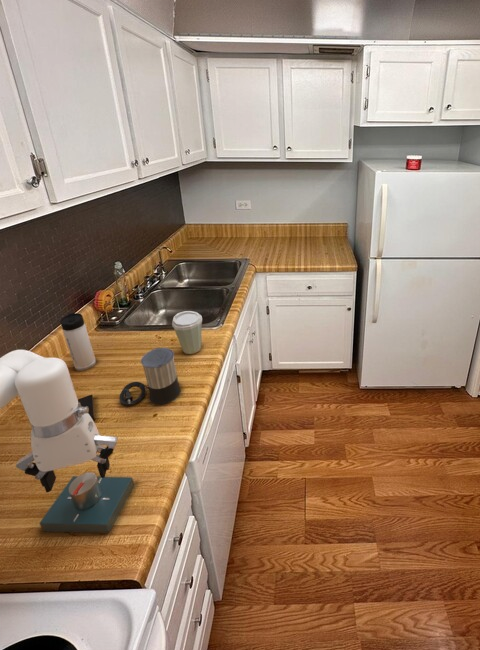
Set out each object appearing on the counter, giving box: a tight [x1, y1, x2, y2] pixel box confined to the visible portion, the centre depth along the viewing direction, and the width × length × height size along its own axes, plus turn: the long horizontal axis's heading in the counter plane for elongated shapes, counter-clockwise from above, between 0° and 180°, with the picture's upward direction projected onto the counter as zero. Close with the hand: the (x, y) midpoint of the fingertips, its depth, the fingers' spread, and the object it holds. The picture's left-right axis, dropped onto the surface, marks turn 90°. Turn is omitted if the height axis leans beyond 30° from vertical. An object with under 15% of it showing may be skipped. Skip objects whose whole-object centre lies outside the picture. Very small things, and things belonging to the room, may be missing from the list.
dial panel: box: [39, 475, 135, 534], centre depth 73 cm, size 14×10×3 cm
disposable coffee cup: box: [171, 310, 203, 355], centre depth 124 cm, size 11×11×15 cm
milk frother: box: [119, 347, 182, 407], centre depth 102 cm, size 14×16×15 cm
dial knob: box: [69, 471, 102, 511], centre depth 72 cm, size 5×5×5 cm
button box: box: [77, 394, 96, 422], centre depth 96 cm, size 12×10×4 cm
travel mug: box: [59, 312, 97, 372], centre depth 115 cm, size 6×7×20 cm
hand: (78, 478), depth 70 cm, fingers open, 9 cm apart
